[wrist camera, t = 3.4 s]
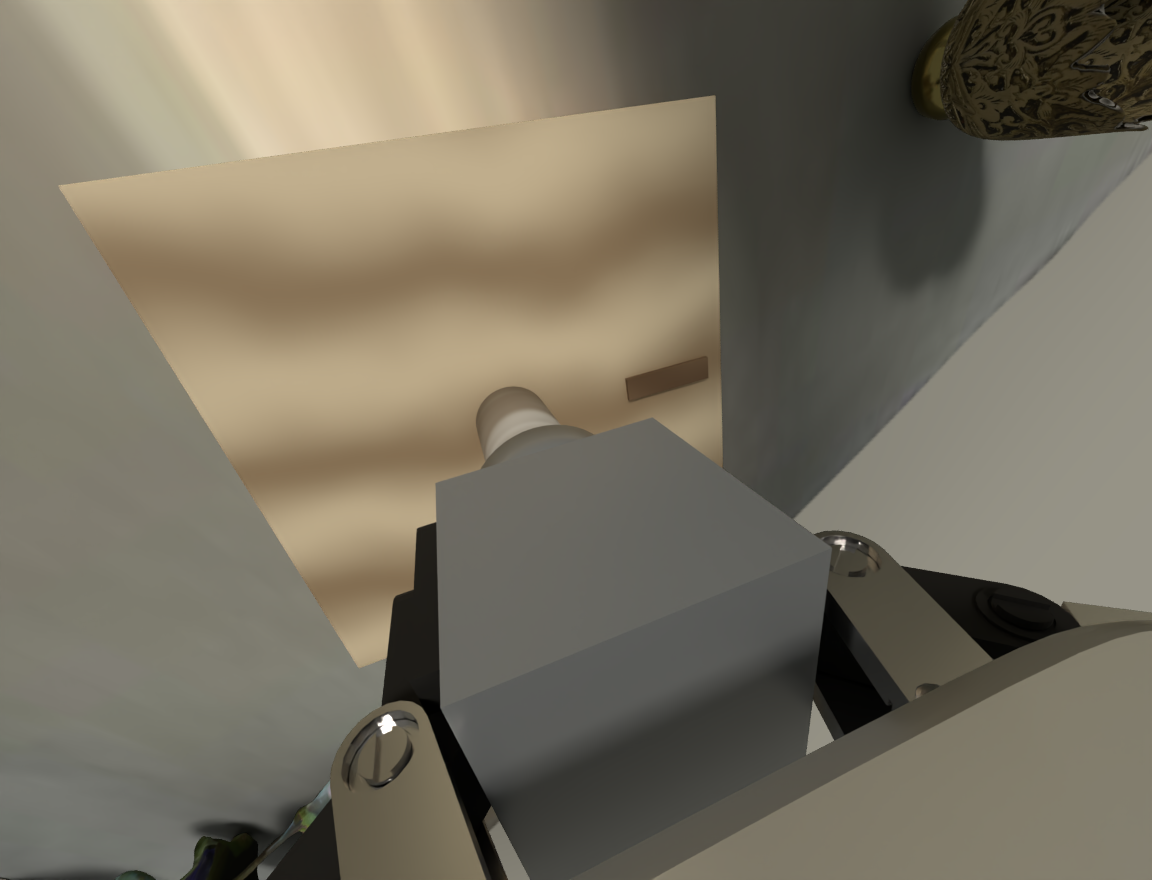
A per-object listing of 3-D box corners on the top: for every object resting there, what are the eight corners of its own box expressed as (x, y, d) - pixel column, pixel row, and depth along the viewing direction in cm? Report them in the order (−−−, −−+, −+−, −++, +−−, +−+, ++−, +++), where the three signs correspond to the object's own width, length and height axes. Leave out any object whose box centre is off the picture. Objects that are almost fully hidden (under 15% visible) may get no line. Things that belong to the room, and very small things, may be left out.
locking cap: (434, 445, 11) (439, 708, 4) (618, 392, 12) (832, 547, 5) (522, 686, 15) (588, 990, 9) (651, 633, 16) (791, 871, 10)
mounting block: (108, 195, 13) (-270, 124, 6) (685, 111, 17) (865, 10, 10) (364, 635, 22) (333, 814, 15) (704, 512, 26) (806, 607, 19)
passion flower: (279, 739, 29) (18, 958, 18) (378, 660, 27) (150, 854, 15) (373, 880, 28) (163, 1208, 17) (486, 811, 26) (329, 1141, 14)
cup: (1010, -53, 18) (1367, -242, 11) (983, 144, 22) (1244, 92, 15) (872, -11, 17) (1171, -191, 10) (866, 189, 21) (1088, 155, 14)
